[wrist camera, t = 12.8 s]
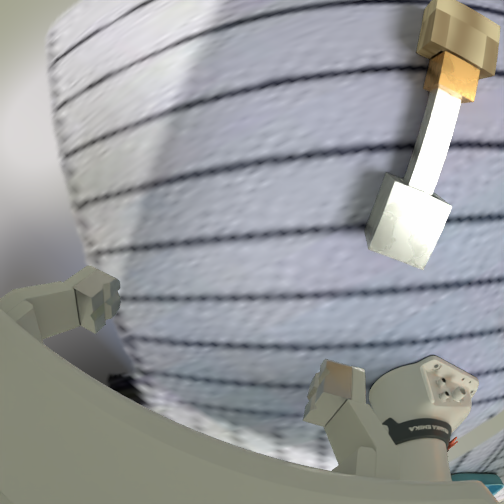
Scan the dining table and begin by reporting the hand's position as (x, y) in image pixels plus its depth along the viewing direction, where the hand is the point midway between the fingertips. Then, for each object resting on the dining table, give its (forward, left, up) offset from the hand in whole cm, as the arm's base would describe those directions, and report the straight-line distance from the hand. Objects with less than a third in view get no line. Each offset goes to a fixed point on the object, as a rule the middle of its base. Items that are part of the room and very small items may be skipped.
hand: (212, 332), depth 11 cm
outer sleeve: (-13, 0, -29) cm, 32 cm away
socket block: (-13, -24, -29) cm, 40 cm away
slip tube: (-13, -13, -29) cm, 34 cm away
